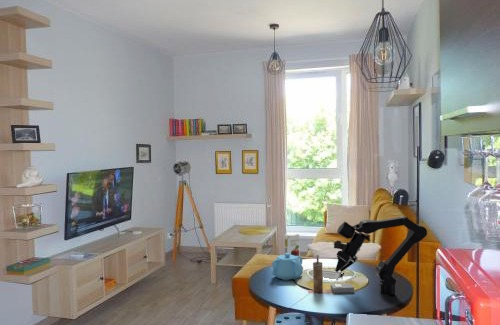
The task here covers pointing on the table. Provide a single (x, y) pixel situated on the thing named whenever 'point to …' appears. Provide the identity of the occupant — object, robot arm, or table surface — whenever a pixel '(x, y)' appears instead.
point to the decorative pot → (287, 267)
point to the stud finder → (342, 288)
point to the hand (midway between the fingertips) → (338, 271)
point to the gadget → (330, 274)
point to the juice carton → (292, 244)
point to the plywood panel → (322, 292)
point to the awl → (317, 276)
